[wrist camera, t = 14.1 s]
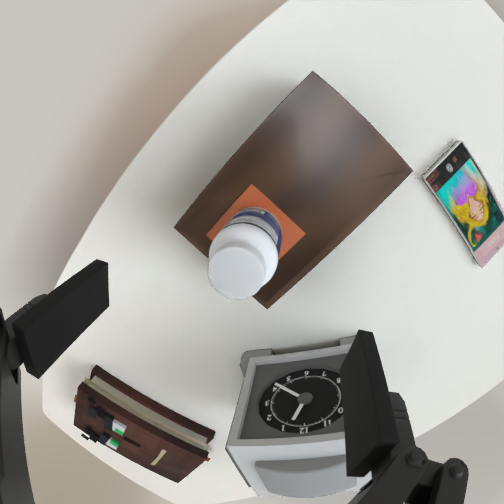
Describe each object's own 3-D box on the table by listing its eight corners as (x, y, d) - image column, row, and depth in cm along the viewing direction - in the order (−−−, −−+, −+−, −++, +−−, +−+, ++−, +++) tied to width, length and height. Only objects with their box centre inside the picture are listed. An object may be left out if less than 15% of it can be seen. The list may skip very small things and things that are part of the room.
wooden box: (189, 215, 36) (172, 227, 31) (311, 80, 29) (312, 70, 24) (271, 288, 38) (267, 310, 33) (398, 166, 30) (413, 171, 25)
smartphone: (461, 139, 27) (515, 233, 29) (458, 139, 28) (512, 231, 30) (423, 178, 29) (481, 268, 31) (420, 177, 30) (479, 266, 32)
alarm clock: (372, 332, 38) (400, 443, 21) (374, 397, 42) (389, 496, 25) (239, 351, 42) (206, 459, 25) (261, 411, 46) (242, 506, 29)
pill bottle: (258, 269, 31) (241, 322, 22) (217, 235, 31) (182, 276, 22) (294, 230, 29) (291, 272, 20) (251, 194, 29) (227, 220, 20)
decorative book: (185, 491, 50) (63, 423, 49) (194, 466, 57) (79, 401, 56) (220, 465, 43) (65, 378, 41) (229, 433, 50) (86, 353, 48)
